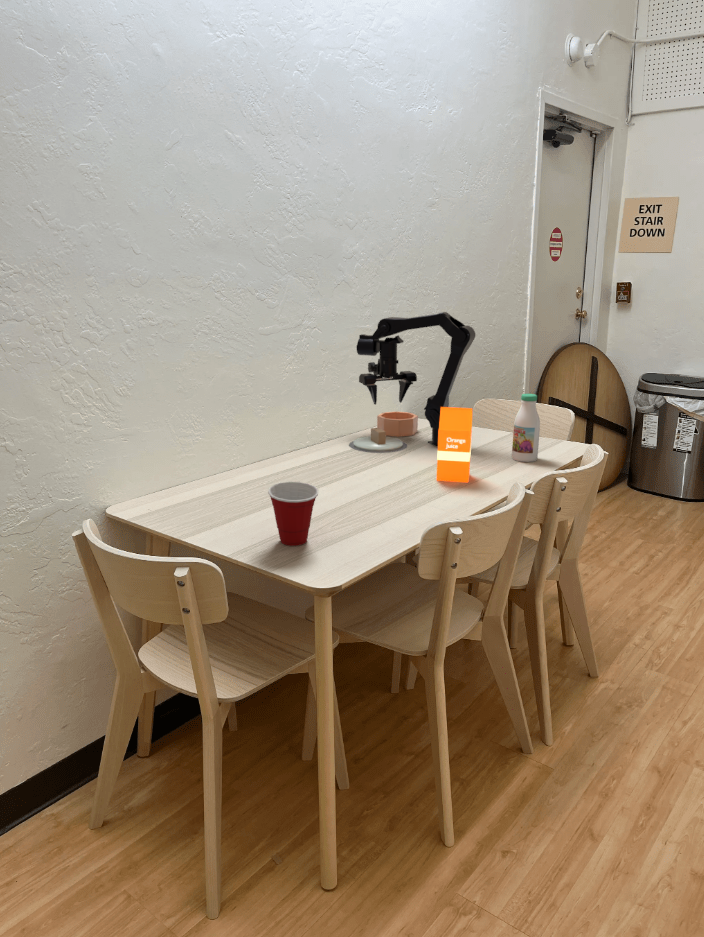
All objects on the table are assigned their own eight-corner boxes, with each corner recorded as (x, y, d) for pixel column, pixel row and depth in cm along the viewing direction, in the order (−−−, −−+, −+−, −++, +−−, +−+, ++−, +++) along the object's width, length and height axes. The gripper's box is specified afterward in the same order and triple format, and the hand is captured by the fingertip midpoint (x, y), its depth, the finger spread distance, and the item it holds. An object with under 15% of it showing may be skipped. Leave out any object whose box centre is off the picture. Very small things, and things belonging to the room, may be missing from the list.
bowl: (422, 434, 247) (423, 418, 245) (388, 438, 242) (388, 421, 240) (405, 426, 258) (405, 410, 256) (372, 430, 253) (372, 413, 251)
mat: (417, 450, 227) (417, 449, 227) (363, 456, 220) (363, 455, 220) (391, 436, 244) (391, 435, 244) (340, 441, 237) (340, 440, 237)
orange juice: (468, 482, 195) (472, 411, 190) (436, 480, 197) (438, 409, 191) (469, 474, 203) (473, 405, 197) (438, 472, 204) (441, 404, 199)
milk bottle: (521, 454, 223) (526, 391, 218) (542, 459, 218) (548, 395, 212) (506, 458, 219) (510, 394, 213) (527, 464, 213) (532, 398, 207)
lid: (411, 448, 228) (411, 433, 227) (365, 453, 222) (365, 438, 221) (389, 437, 242) (389, 422, 241) (345, 441, 236) (346, 426, 235)
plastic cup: (285, 555, 148) (284, 500, 144) (260, 539, 156) (258, 487, 153) (329, 543, 154) (328, 490, 150) (302, 528, 162) (301, 478, 159)
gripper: (404, 352, 244) (403, 397, 249) (353, 355, 238) (353, 401, 243) (418, 356, 234) (416, 403, 239) (365, 359, 228) (365, 407, 233)
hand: (387, 403), depth 238 cm, fingers open, 9 cm apart
